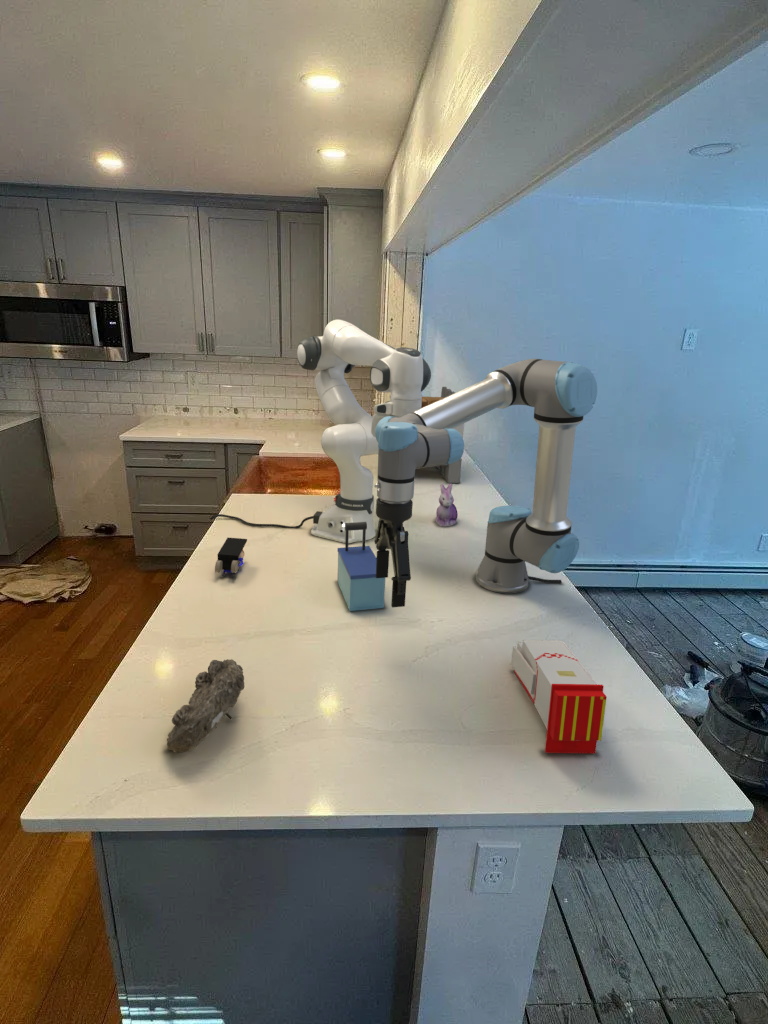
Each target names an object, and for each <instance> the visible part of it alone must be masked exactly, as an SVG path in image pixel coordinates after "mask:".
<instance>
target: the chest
mask: <svg viewBox="0 0 768 1024" xmlns="http://www.w3.org/2000/svg"><path fill="white" fill-rule="evenodd" d="M337 584H338V586H339V588H340V592H341V594H342V596H343V598H344V601H345V604H346V605H347V608H348V610H349V612H355V611H356V612H357V611H366V610H375V609H377V610H378V609H385V595H386V594H385V593H386V578H376V577H374V578H361V579H350V577H349V575H348V573H347V571H346V568H345V566H344V564H343V562H342V560H341V558H340V556H339V553H338V552H337Z"/></svg>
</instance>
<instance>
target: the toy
mask: <svg viewBox="0 0 768 1024" xmlns="http://www.w3.org/2000/svg"><path fill="white" fill-rule="evenodd" d="M510 666H511V667H512V669H513V673H514V674H515V676H516V677H517V680H518V681H519V682H520V684H521V686H522V687H523V689H524V690H525V692H526V694H527V696H528V697H529V699H530V700H531V702H532V703H533V705H534V707H535V710H536V711H537V713H538V714H539V717H540V718H541V720H542V722H543V724H544V726H545V728H546V734H545V735H546V736H545V745H544V752H545V754H596V752H597V743H598V742H601V741H602V737H603V729H604V720H605V713H606V705H607V695H606V693H605V692H604V687H605V686H604V685H603V684H598V683H597V682H596V681H595V679H593V677H592V676H591V674H589V672H588V671H587V670H586V668H585V666H583V664H582V663H581V662H580V661H579V660H578V658H577V656H576V655H575V654H574V653H573V651H572V650H571V649H570V648H569V646H568V645H567V644H566V643H565V642H564V641H563V640H539V639H538V640H537V639H536V640H535V639H534V640H533V639H532V640H530V639H529V640H528V639H523V640H522V641H517V643H516V646H512V652H511V659H510Z"/></svg>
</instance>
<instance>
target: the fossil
mask: <svg viewBox="0 0 768 1024" xmlns="http://www.w3.org/2000/svg"><path fill="white" fill-rule="evenodd" d="M243 670H244V669H243V667H242V665H240V664H237V662H236V661H235V660H234V659H232V658H231V659H227V658H226V659H224V660H223V661H222V660H217V659H212V660H211V661H210V663H209V665H208V666H207V671H201V672H199V673H198V674H197V675H196V676H195V680H194V684H195V685H194V687H195V689H194V690H193V693H192V694H191V697H190V698H189V700H188V704H184V705H182V706H181V707H180V709H177V710H176V711H175V713H174V715H173V716H172V718H171V723H172V724H173V727H172V730H171V731H170V732H168V734H167V738H166V741H167V742H166V745H167V749H168V750H169V751H173V752H174V753H176V754H178V753H182V752H188V751H189V752H192V751H193V750H195V748H196V747H197V746H199V744H200V743H201V742H203V741H204V740H205V739H206V738H207V737H208V736H209V735H210V734H211V733H212V732H214V730H215V729H217V727H218V726H219V724H220V722H221V721H222V720H223V719H224V718H225V716H226V717H227V719H229V720H233V717H232V715H230V714H229V710H230V709H231V708H234V706H235V704H236V703H237V702H238V699H239V697H240V695H241V693H242V691H243V690H245V689H244V688H245V675H244V671H243Z"/></svg>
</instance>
